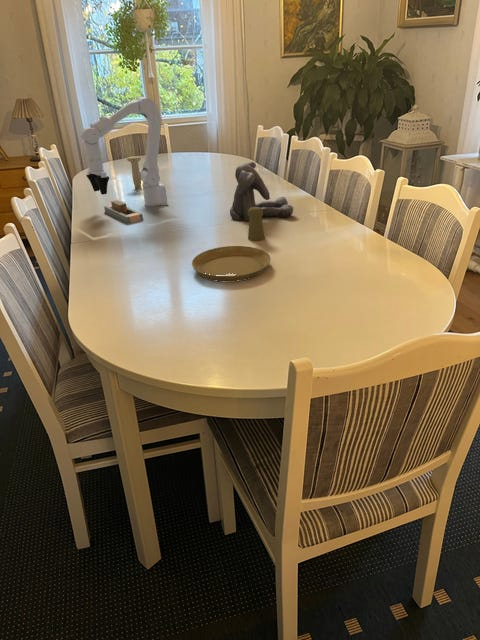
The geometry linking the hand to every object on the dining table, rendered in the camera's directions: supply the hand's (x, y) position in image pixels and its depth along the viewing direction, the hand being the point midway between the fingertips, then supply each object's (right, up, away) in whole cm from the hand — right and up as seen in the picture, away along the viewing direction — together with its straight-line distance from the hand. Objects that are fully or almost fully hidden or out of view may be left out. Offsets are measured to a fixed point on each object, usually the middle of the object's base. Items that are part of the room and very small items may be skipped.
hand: (100, 192), depth 216 cm
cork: (+64, -24, -32) cm, 76 cm away
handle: (+7, +13, +43) cm, 45 cm away
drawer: (+9, -9, -1) cm, 13 cm away
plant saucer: (+56, -38, -56) cm, 88 cm away
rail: (+10, -11, -3) cm, 16 cm away
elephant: (+67, -11, -8) cm, 68 cm away
